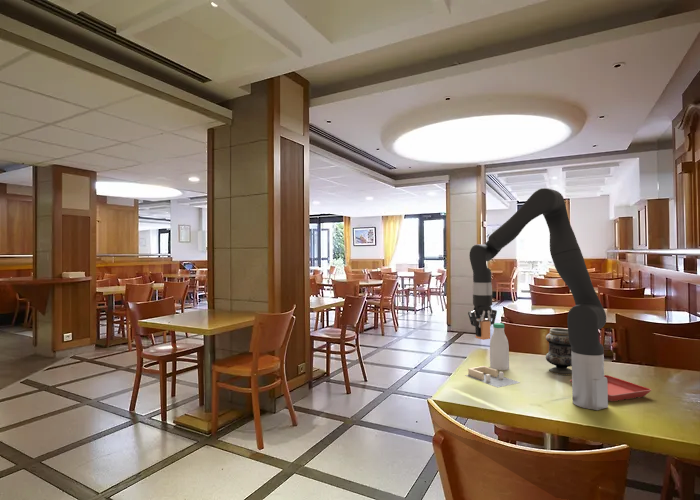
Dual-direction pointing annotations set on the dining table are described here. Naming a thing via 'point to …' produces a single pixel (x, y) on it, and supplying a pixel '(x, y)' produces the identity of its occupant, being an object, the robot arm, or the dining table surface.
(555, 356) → the carved stone vase
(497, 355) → the milk bottle
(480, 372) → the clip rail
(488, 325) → the orange rectangular block
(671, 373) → the dining table surface
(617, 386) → the plant saucer
